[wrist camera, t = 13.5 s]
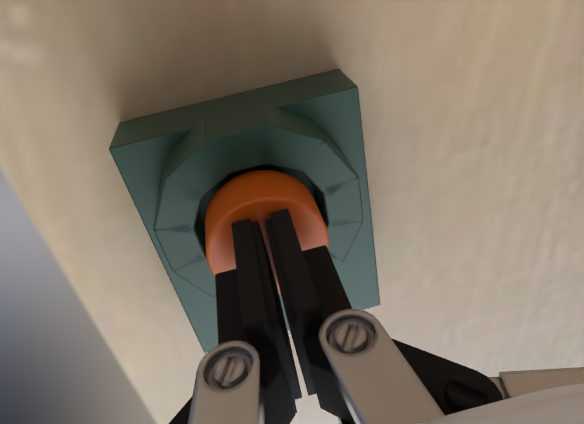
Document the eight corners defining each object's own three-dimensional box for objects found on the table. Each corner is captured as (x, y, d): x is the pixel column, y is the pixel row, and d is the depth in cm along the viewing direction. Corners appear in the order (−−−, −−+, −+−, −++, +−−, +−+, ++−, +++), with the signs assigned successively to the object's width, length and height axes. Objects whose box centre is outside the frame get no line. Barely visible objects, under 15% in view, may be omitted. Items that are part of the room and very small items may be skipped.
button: (189, 185, 13) (188, 217, 12) (306, 155, 13) (319, 183, 12) (222, 273, 15) (225, 310, 14) (323, 247, 15) (336, 280, 14)
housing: (116, 115, 15) (92, 167, 12) (338, 61, 15) (376, 96, 12) (203, 316, 21) (204, 389, 18) (365, 273, 21) (395, 336, 18)
